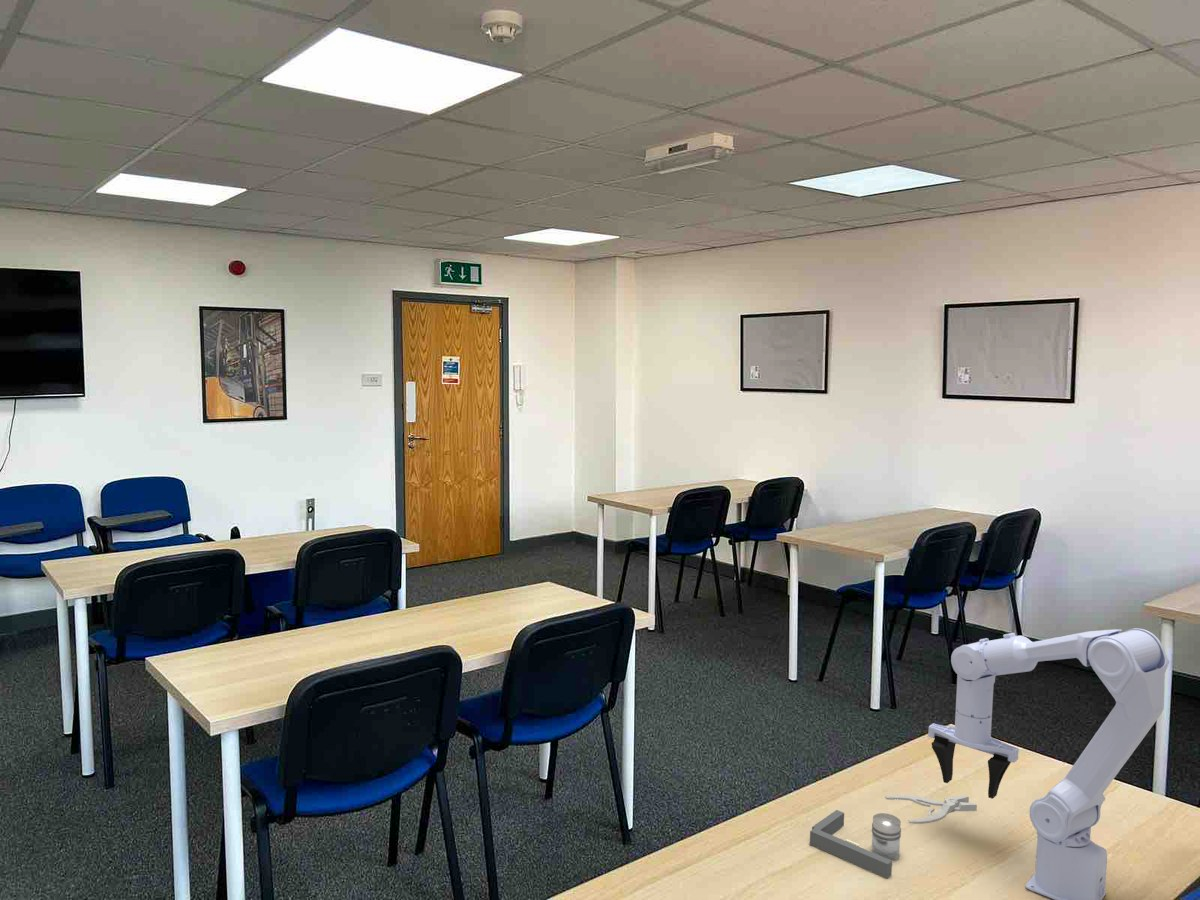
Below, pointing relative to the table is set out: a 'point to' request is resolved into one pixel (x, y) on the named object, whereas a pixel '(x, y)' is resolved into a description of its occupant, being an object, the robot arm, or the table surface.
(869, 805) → the table surface
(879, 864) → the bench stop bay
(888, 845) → the piston
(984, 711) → the robot arm
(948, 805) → the pliers
